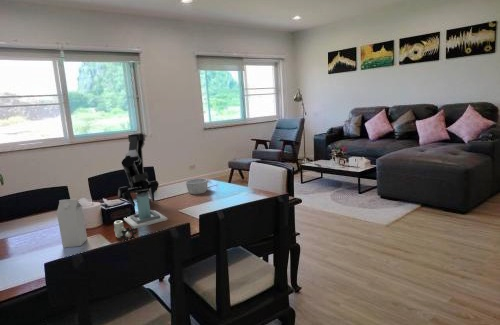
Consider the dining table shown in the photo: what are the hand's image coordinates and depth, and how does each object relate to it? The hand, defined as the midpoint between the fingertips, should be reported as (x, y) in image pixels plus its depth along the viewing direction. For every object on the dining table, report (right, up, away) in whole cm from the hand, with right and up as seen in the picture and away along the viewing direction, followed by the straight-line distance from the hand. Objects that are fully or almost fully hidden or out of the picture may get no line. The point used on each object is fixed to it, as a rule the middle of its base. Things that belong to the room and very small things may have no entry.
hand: (144, 203), depth 166 cm
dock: (0, -8, +3) cm, 9 cm away
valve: (-3, -13, -19) cm, 23 cm away
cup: (0, -7, +3) cm, 8 cm away
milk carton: (-22, -14, -21) cm, 34 cm away
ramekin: (+18, +1, +48) cm, 51 cm away
